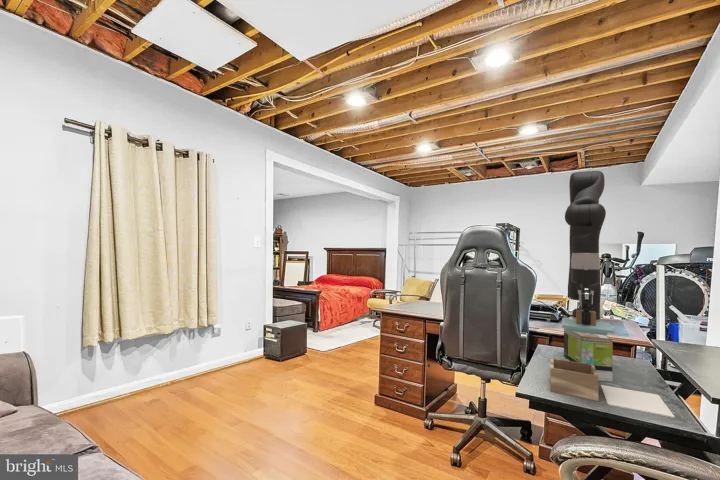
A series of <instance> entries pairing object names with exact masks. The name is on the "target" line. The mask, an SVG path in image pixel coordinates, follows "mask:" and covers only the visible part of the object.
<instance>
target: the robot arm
mask: <svg viewBox="0 0 720 480" xmlns="http://www.w3.org/2000/svg"><path fill="white" fill-rule="evenodd" d="M605 181H606V180H605V174H604V173H603V171H601V170H586V171H577V172H572V173H570V177H569V181H568V182H569V185H568V187H569V205H568V206H567V209H565V212H564V220H565V222H566V224H567V225H568V226H569V268H568V269H569V270H568V279H567V280H568V281H567V295H568V297H569V299H570V300H572V301H573V300H574V301H578V303H579V307H578V308H574V309H573V310H572V313H571V314H572V319H573V320H576V310H581V311H582V323H583V324H586V325H590V324H591V311H595V312H596V322H601V297H602V296H601V295H602V287H601V258H600V234H601V230H602V228H603V225H604V222H605V219H606V215H607V212H606V208H605V207H604V205H602V204H601V203H600V198H601V196H602V195H603V192H604V190H605Z"/></svg>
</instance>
